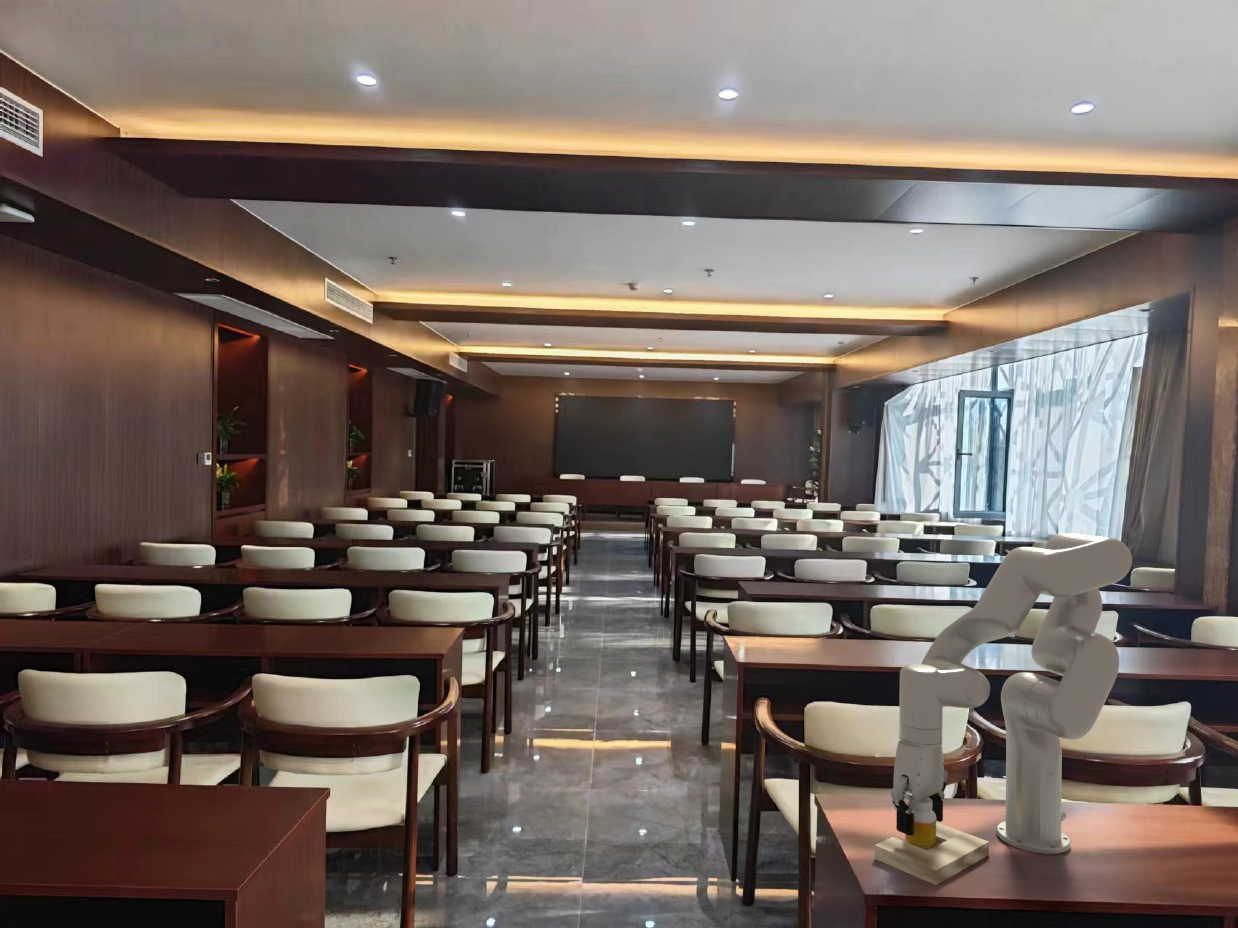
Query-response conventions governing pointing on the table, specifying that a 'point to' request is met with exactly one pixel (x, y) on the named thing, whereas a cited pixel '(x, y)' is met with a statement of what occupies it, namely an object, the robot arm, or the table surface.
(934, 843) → the supplement bottle
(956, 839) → the notched board
